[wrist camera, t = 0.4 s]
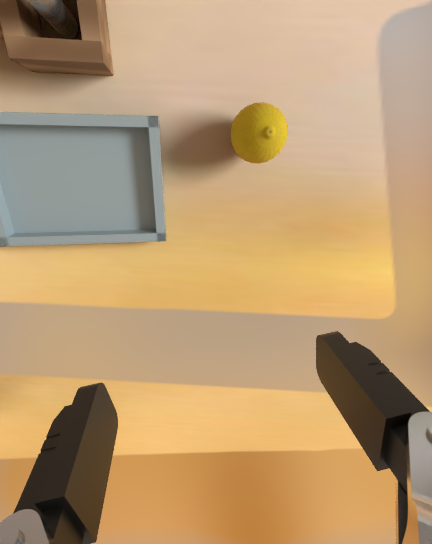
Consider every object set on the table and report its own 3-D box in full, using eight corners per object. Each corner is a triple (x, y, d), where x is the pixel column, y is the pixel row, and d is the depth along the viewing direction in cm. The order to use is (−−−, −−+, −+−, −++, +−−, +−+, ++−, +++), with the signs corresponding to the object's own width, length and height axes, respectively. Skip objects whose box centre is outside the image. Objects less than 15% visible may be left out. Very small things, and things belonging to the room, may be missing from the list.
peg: (52, 10, 26) (-3, -54, 18) (75, 12, 26) (32, -50, 18) (57, 38, 27) (6, -12, 18) (79, 39, 27) (39, -9, 19)
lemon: (273, 156, 34) (301, 158, 26) (229, 166, 33) (245, 170, 26) (268, 103, 31) (297, 90, 24) (220, 113, 31) (235, 103, 24)
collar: (-67, -40, 23) (-117, -80, 19) (102, -25, 25) (89, -58, 21) (-36, 68, 26) (-74, 53, 22) (113, 75, 28) (103, 62, 24)
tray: (-26, 113, 28) (-43, 110, 26) (159, 118, 30) (158, 116, 28) (11, 239, 33) (-1, 246, 31) (166, 235, 36) (165, 241, 33)
